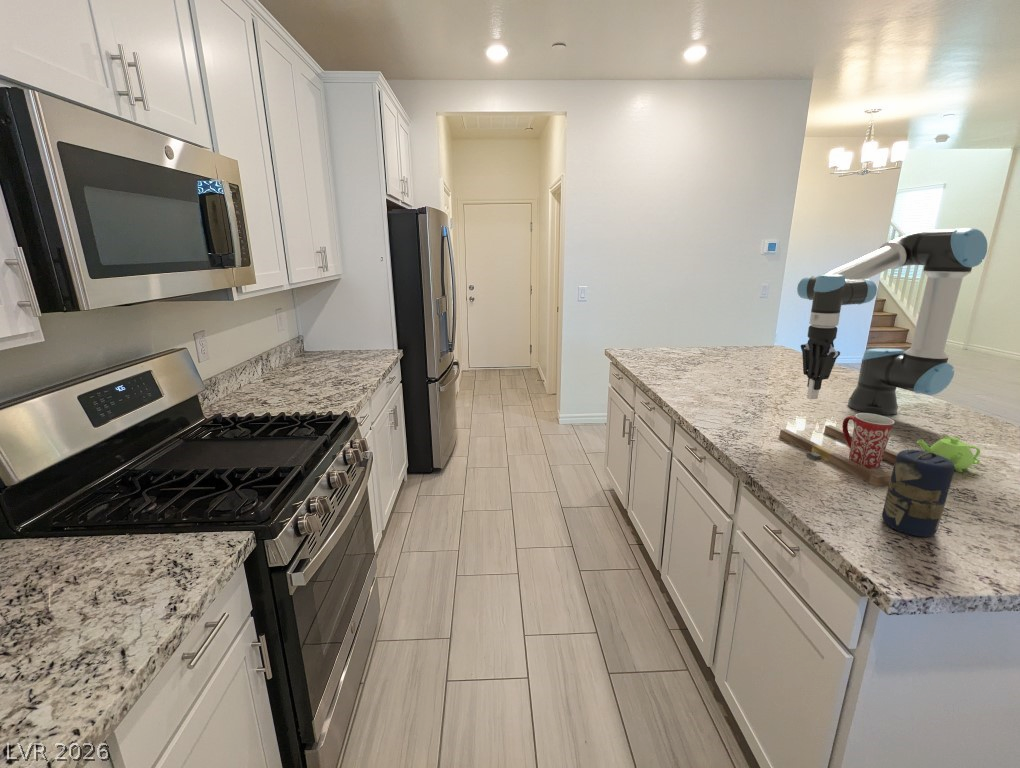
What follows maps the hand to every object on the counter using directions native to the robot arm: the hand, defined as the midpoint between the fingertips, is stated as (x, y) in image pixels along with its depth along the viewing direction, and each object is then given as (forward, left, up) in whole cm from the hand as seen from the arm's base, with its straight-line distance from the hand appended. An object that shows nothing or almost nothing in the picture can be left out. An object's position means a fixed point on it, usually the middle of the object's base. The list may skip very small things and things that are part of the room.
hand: (812, 398), depth 153 cm
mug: (+1, +20, -13) cm, 24 cm away
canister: (+21, +51, -13) cm, 57 cm away
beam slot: (+1, +16, -12) cm, 20 cm away
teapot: (-19, +28, -13) cm, 36 cm away
